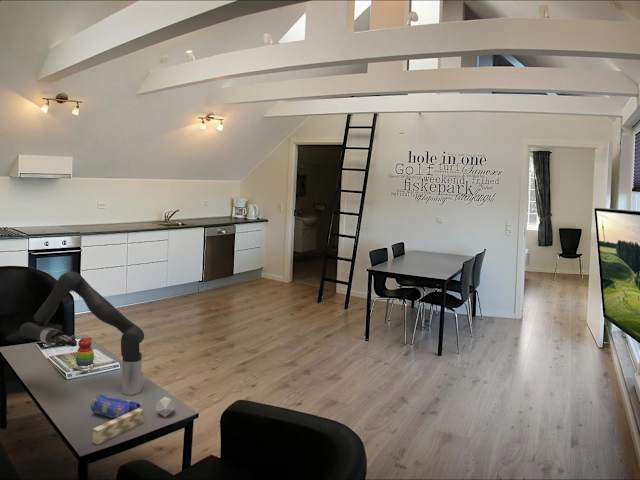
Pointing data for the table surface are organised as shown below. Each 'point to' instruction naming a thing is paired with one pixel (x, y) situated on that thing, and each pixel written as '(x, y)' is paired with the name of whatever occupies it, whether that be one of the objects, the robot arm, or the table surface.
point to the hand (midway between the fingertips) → (75, 344)
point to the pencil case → (112, 406)
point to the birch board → (117, 426)
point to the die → (165, 406)
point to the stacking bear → (84, 352)
